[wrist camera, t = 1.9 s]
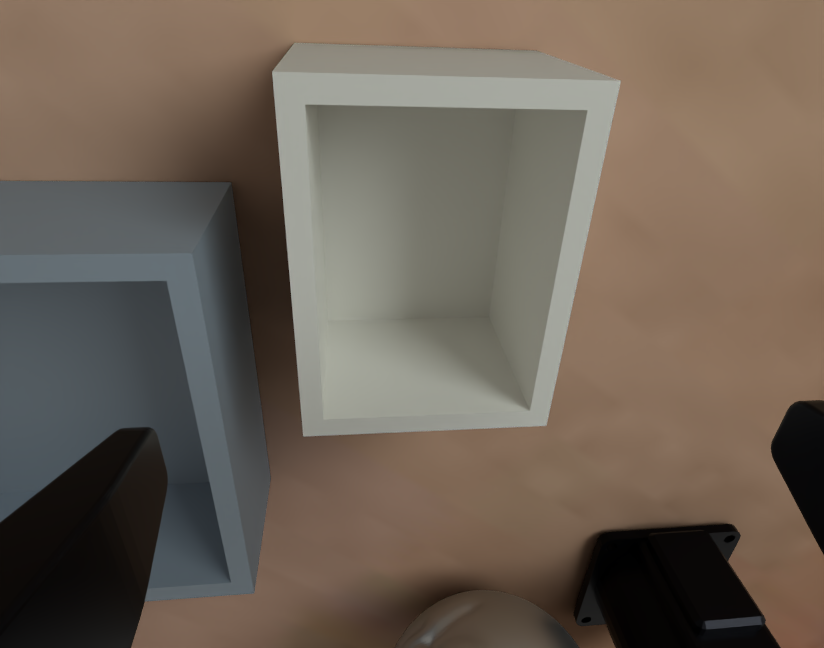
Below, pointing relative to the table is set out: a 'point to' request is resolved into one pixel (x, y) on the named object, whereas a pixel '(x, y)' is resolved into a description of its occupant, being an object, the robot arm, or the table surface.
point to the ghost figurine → (485, 624)
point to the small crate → (434, 229)
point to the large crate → (136, 360)
